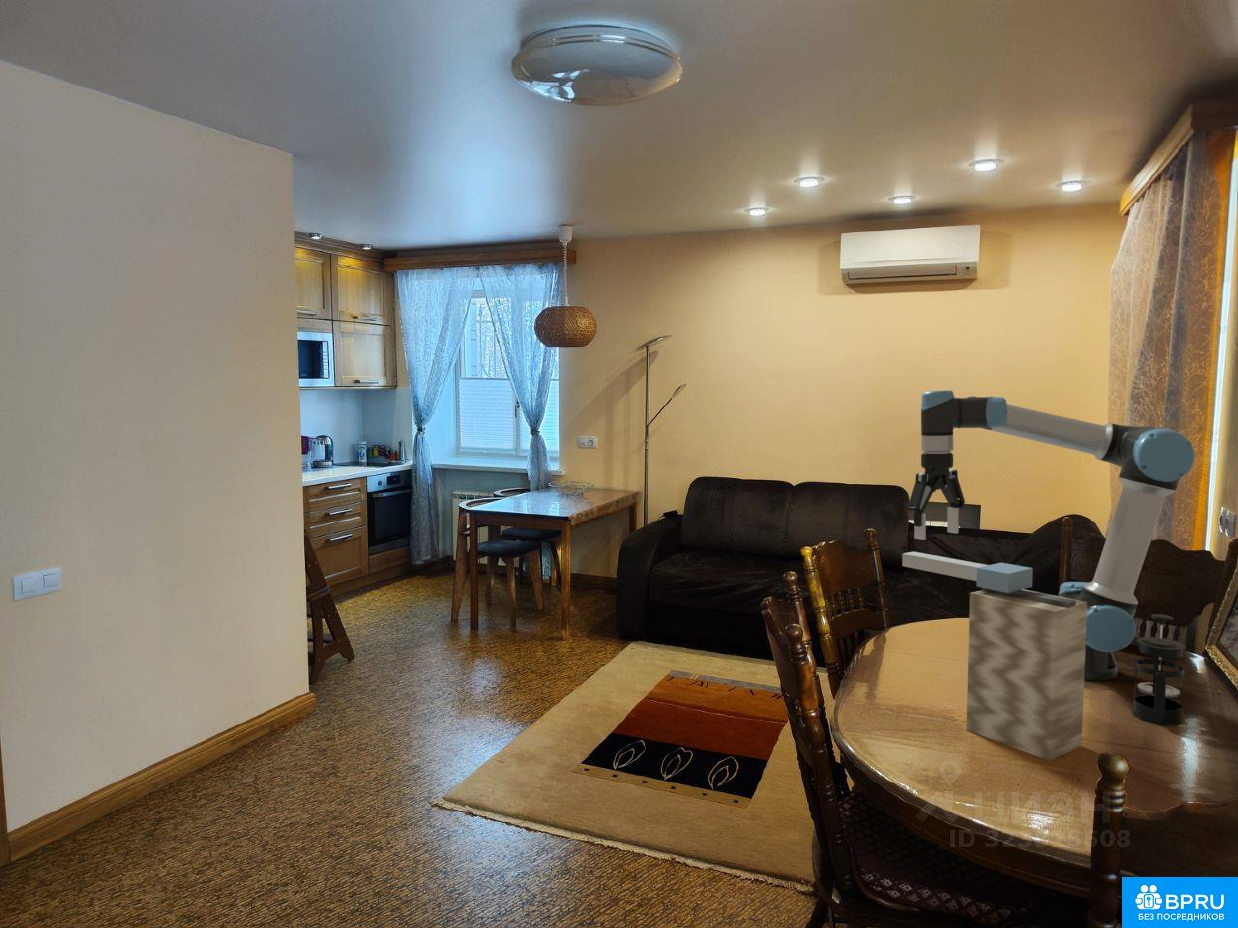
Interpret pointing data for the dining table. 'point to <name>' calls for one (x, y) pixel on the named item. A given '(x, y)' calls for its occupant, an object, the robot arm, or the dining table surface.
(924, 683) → the dining table surface
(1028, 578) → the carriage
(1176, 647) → the french press
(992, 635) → the patterned tall box
